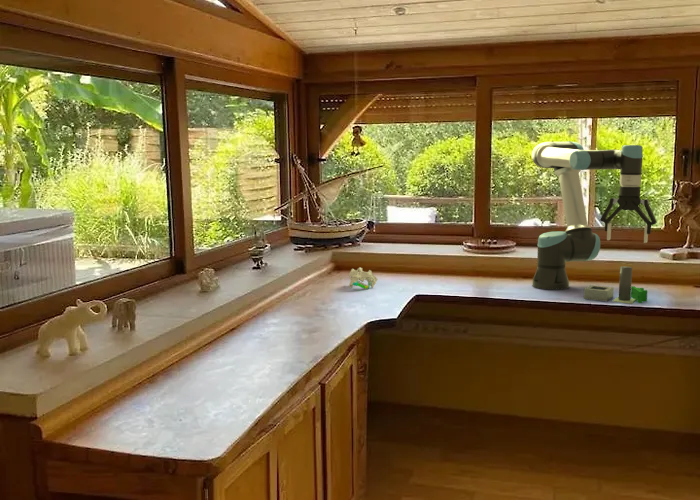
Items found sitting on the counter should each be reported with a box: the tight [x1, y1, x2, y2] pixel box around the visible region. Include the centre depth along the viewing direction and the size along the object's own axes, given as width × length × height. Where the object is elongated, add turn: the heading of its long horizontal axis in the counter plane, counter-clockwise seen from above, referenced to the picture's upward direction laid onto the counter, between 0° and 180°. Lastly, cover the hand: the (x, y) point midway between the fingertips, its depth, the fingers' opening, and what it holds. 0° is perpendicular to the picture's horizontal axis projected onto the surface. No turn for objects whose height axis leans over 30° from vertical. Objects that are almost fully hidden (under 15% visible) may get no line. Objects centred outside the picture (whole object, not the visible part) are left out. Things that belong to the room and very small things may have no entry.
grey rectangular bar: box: [617, 265, 633, 301], centre depth 274 cm, size 4×4×13 cm
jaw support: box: [348, 266, 378, 290], centre depth 304 cm, size 12×9×10 cm
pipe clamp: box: [631, 285, 648, 304], centre depth 277 cm, size 11×4×5 cm, turn 174°
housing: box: [583, 284, 614, 302], centre depth 281 cm, size 9×9×4 cm
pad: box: [612, 296, 637, 305], centre depth 275 cm, size 7×7×1 cm
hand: (626, 241), depth 272 cm, fingers open, 13 cm apart
